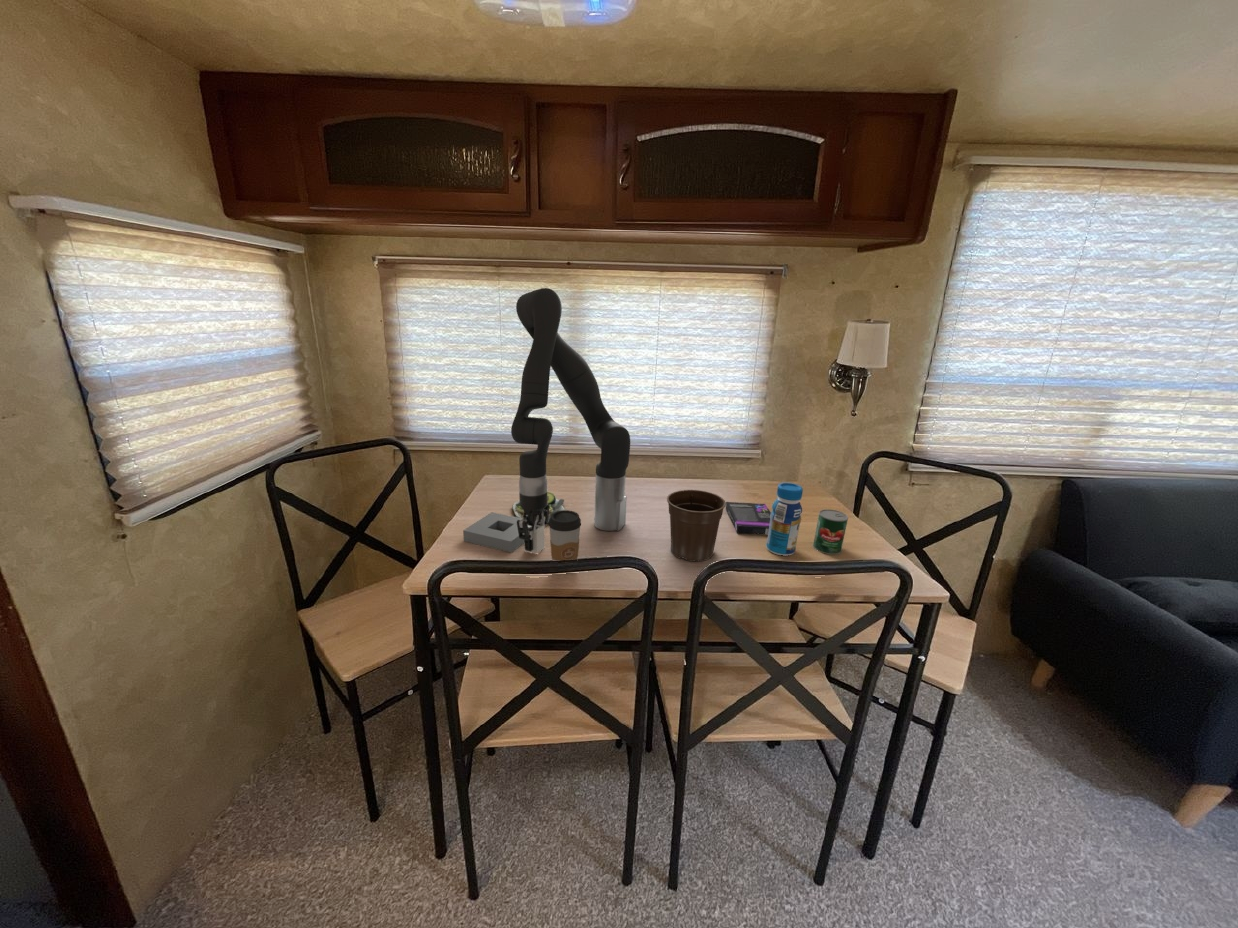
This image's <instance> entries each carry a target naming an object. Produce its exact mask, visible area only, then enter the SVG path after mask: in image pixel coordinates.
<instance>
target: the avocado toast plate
mask: <svg viewBox="0 0 1238 928" xmlns="http://www.w3.org/2000/svg"><path fill="white" fill-rule="evenodd" d="M547 500H548V505H550V507H549V518H548V523H549V519H550V518H551V514H552V513H554V512H557V511H561V510H565V508H564V506H563V504H564V502H565V499H563V498H560V499H557V498H556V496H555V495H554V493H552V492H548V491H547ZM512 511H513V513H514V515H515V517H517V518H522V519H523V515H522V514H524V510H523V509H522V508H521V507H520V500H517V501H515V502H514V503H513V504H512ZM544 519H545V516H544Z"/></svg>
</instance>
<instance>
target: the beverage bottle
mask: <svg viewBox="0 0 1238 928" xmlns="http://www.w3.org/2000/svg"><path fill="white" fill-rule="evenodd" d="M803 492H804V488H803V487H802V486H801V485H799V484H796V483H793V482H781V483H779V484H778V485H777V490H776V496H777V498H776V499H775V500H774V501H773V503H772V506H771V509H772V511H770V512H771V514H770V525H769V532H768V535H767V539H766V546H765V547H766V549H767V550H768V551H769V552H771V553H772V554H775V555H777V556H781V555H783V557H785V556H786V557H787V556H788V555H789V556H792V555H794V554H795V552H796V546H797V542H798V541H797V540H798V535H799V530H800V527H801V526H800V524H801V522H802V516H801V514H802V513H803V508H802V504H801V502H800V501H801V500H802V498H803V494H804V493H803Z"/></svg>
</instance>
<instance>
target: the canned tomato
mask: <svg viewBox="0 0 1238 928" xmlns="http://www.w3.org/2000/svg"><path fill="white" fill-rule="evenodd" d="M848 520H849V516H848V515H847V514H846V513H844V512H842V511H840V510H836V509H831V508H830V509H828V508H826V509H821V510H819V512H818V517H817V522H816V528H815V534H814V538H813V544H812V547H813V548H814V550H816V551H817V550H818V551H817V552H819V551H820V552H819V553H821V552H823V553H822V554H824V553H827V554H826V555H829V554H836V555H839V554H841V553H842V549H843V544H844V539H845V534H846V531H847V530H846V529H847V525H848Z"/></svg>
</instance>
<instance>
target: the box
mask: <svg viewBox="0 0 1238 928" xmlns="http://www.w3.org/2000/svg"><path fill="white" fill-rule="evenodd" d="M725 502H726V506H725V511H726V513H727V515H728V517H729V519H730V522H731V525H732V526H733V528H734V530H735V532H736V534H741V535H742V534H744V535H765V536H766V535H767V536H768V532H769V525H770V514H771V512H772V511H771V510H770V509H769V508H768V506H767V505H766V503H755V502H736V501H734V502H733V501H725Z"/></svg>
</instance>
